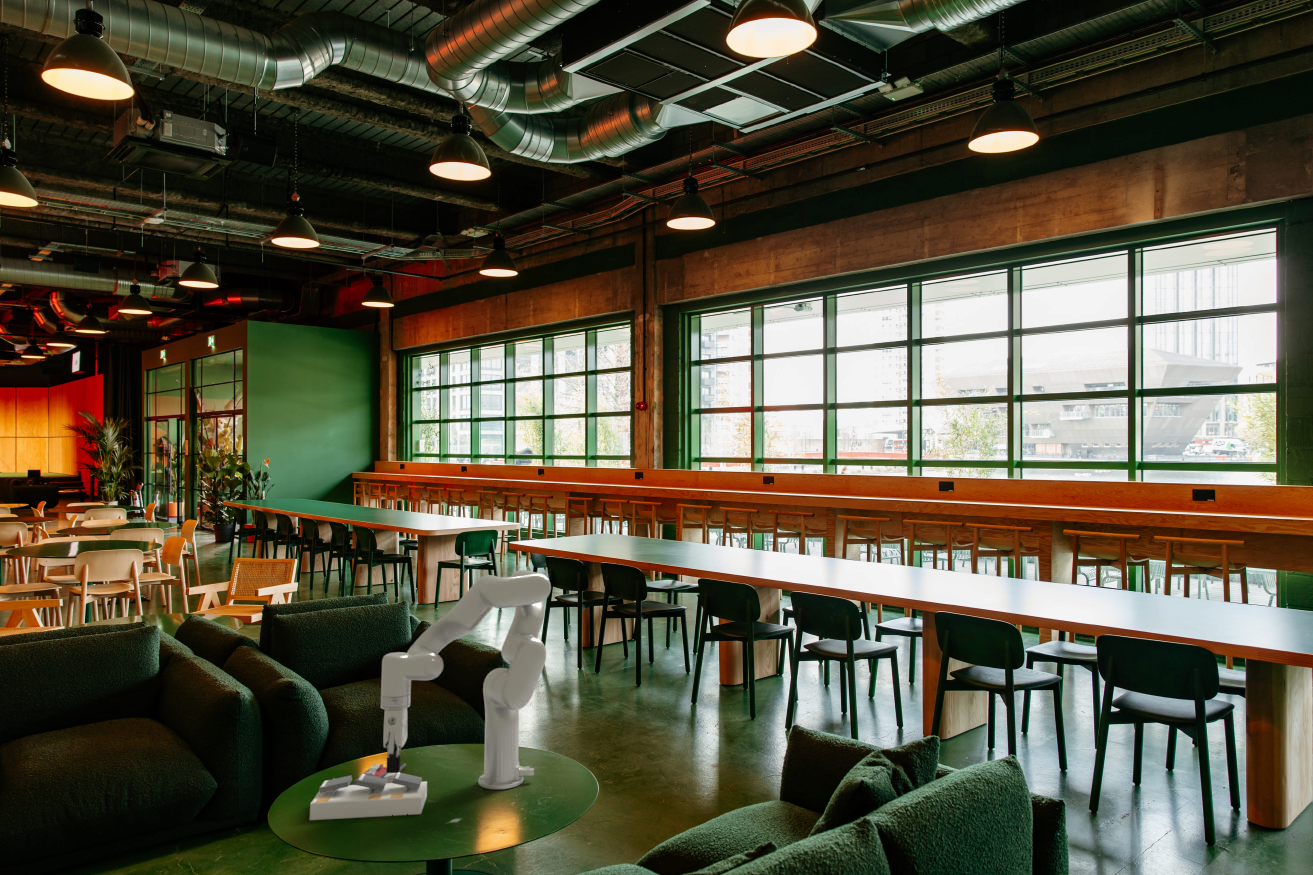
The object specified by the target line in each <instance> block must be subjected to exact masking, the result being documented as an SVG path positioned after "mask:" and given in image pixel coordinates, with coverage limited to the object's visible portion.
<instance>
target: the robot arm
mask: <svg viewBox="0 0 1313 875" xmlns="http://www.w3.org/2000/svg"><path fill="white" fill-rule="evenodd" d="M551 590H552V585H551V582H550V580H549V578H548V577H547V576H546V575H545V574H543V573H540V572H535V571H532V570H525V569H521V570H516V571H514V572H513V573H512V574H511V575H510V576H507V577H505V576H504V577H502V576H497V575H491V574H487V575H486V574H485V575H482V576H480V577H479V578H478V579H477V580H476V581H475V582H474V583H473V585H471V587H470V588H469V589H468V591H466V593H465V594H463V596H462V597H461V598H460V599H459V600H458V602H457V603H456V604H455V605H454V606H453V607H452V608H451V610H450V611H449V612H448V613H447V614H445V615H444V616H442V617H441V618H439V619H438V620H437V621H436V622H433V624H431V626H429V627H428V628H426V630H425V631H424V632H422V634H420V636H419V637H418V638H417V639H416V640H415V641H414V643H413V644H412V645H411V646H410V647H409V649H408V650H407V652H403V651H402V652H400V651H398V652H397V651H396V652H389V653H386V654H385V655H383V657H382V660H381V680H380V681H381V684H380V685H381V689H380V709H382V710H384V717H383V737H382V738H383V741H382V742H383V748H385V749H386V750H387V752H386V753H387V754H386V756H387V757H386V767H387V771H386V772H387V773H398V772H399V770H400V766H401V749H402V748H403V747H404V746H405V744H406V743H407V740H408V708H410V706H411V694H412V692H411V691H412V681H431V680H435V679H436V678H438V677H439V676H440V675H441V673H442V672H443V670H444V660H443V658H442V657H441V656H440V655H439V653H440V652H441V651H442V649H444V648H445V647H446V646H447V645H448V644H450V643H452V642H453V641H454V640H458V639H460V638H464V637H466V636H467V635H470V634H472V633H473V632H474V630H475V629H477V627H478V626H479V625H480V623H481V622H482V621H483V620H484V619H485V617H486V616H487V615H488V614H489V613H490V611H492V609H493V608H494V609H507V608H514V607H515V611H514V616H513V620H512V621H511V625H510V626H509V629H508V630H507V631H508V632H507V635H506V637H505V639H504V642H503V644H502V647H501V653H500V654H501V658H502V659H503V661H504V662H505V663H507V664H508V665H510V667H509V668H506V667H498V668H494V669H493V670H491V671H490V672H489V673H487V675H486V677H485V678H484V681H483V685H482V686H483V688H482V693H483V701H484V716H485V717H484V719H485V720H484V759H483V760H484V761H483V762H484V763H483V770H484V771H483V774H482V775H480V776H479V777H478V781H477V782H478V785H479V786H480V787H481V788H484V789H487V790H506V789H508V790H509V789H512V788H515V787H518V786H519V785H520V786H521V785H522V783H523V782H524V776H534V775H535V768H534V767H531V766H522V765H520V761H519V746H520V744H519V737H520V736H519V734H520V731H519V730H520V729H519V728H520V712H519V710H521V709H523V708H524V707H526V706H527V705H528V704H529V702H530V701H531V699H532V696H533V695H534V692H535V691H536V688H537V685H538V684H539V683H538V682H539V681H540V680H539V679H540V678H541V675H542V672H543V670H544V667H545V663H546V659H547V650H546V646H545V644H544V643H543V641H542V640H541V639H539V637H538V636H539V634H540V632H541V628H542V626H543V622H544V618H545V603H544V600H546V599H547V598H549V595H550V593H551Z"/></svg>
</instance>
